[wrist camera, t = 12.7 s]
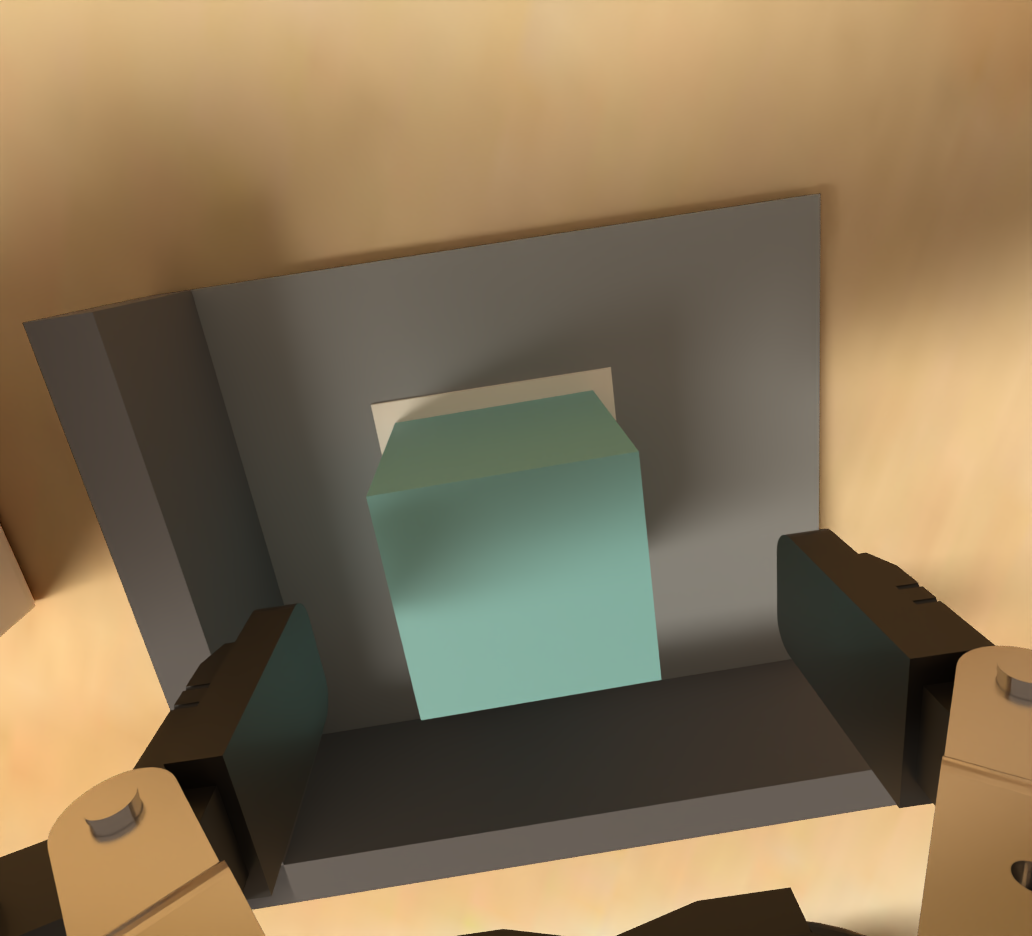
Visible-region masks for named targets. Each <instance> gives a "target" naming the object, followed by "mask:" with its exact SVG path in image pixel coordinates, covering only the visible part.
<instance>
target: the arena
mask: <svg viewBox="0 0 1032 936" xmlns="http://www.w3.org/2000/svg"><path fill="white" fill-rule="evenodd" d="M23 325H24V328H25V330H26V333H27V336H28V338H29V341H30V344H31V346H32V349H33V351H34V354H35V357H36V359H37V362H38V365H39V367H40V370H41V372H42V375H43V378H44V380H45V383H46V386H47V388H48V391H49V393H50V396H51V399H52V401H53V404H54V406H55V409H56V412H57V414H58V417H59V420H60V422H61V425H62V427H63V430H64V433H65V435H66V438H67V441H68V443H69V446H70V448H71V451H72V454H73V456H74V459H75V462H76V464H77V467H78V469H79V472H80V475H81V477H82V480H83V483H84V485H85V488H86V490H87V493H88V496H89V498H90V501H91V503H92V506H93V509H94V511H95V514H96V517H97V519H98V522H99V524H100V527H101V530H102V532H103V535H104V538H105V540H106V543H107V545H108V548H109V551H110V553H111V556H112V559H113V561H114V564H115V566H116V569H117V572H118V574H119V577H120V580H121V582H122V585H123V587H124V590H125V593H126V595H127V598H128V601H129V603H130V606H131V608H132V611H133V614H134V616H135V619H136V621H137V624H138V627H139V629H140V632H141V635H142V637H143V640H144V642H145V645H146V648H147V650H148V653H149V656H150V658H151V661H152V663H153V666H154V669H155V671H156V674H157V677H158V679H159V682H160V684H161V687H162V690H163V692H164V695H165V698H166V700H167V703H168V705H169V708H170V711H171V710H174V704H175V703H176V701H177V700H178V698H179V696H180V695H181V693H182V692H183V691H186V685H187V684H188V682H189V681H190V679H191V678H192V676H193V674H194V673H195V671H196V670H197V668H198V667H199V665H200V664H201V663H202V662H203V661H205V660H206V659H207V658H208V657H209V656H210V655H212V654H213V653H214V652H215V651H216V650H218V649H219V648H220V647H221V646H222V645H223V644H225V643H232V642H235V641H236V639H237V637H238V636H239V634H240V632H241V631H242V629H243V627H244V626H245V624H246V622H247V620H248V619H249V617H250V615H251V614H252V612H253V611H254V610H256V609H262V608H269V607H275V606H282V605H289V604H296V603H301V604H303V606H304V607H305V608H306V610H307V613H308V616H309V619H310V623H311V626H312V630H313V634H314V637H315V641H316V645H317V649H318V652H319V656H320V660H321V663H322V667H323V671H324V674H325V678H326V682H327V689H328V713H327V718H326V722H325V725H324V729H323V732H322V735H321V738H320V742H319V745H318V748H317V751H316V754H315V758H314V761H313V764H312V767H311V771H310V774H309V777H308V780H307V784H306V787H305V790H304V793H303V796H302V800H301V803H300V806H299V809H298V813H297V816H296V819H295V822H294V826H293V829H292V832H291V835H290V838H289V842H288V845H287V848H286V851H285V855H284V858H283V861H282V864H281V868H280V871H279V874H278V877H277V880H276V884H275V887H274V890H273V893H272V896H270V897H263V898H256V899H249V900H247V902H248V904H249V906H250V908H251V910H252V909H259V908H265V907H271V906H277V905H283V904H289V903H295V902H302V901H308V900H314V899H320V898H326V897H332V896H338V895H345V894H351V893H357V892H363V891H369V890H375V889H381V888H388V887H394V886H400V885H406V884H412V883H418V882H424V881H431V880H437V879H443V878H449V877H455V876H461V875H467V874H474V873H480V872H486V871H492V870H498V869H504V868H510V867H517V866H523V865H529V864H535V863H541V862H547V861H553V860H560V859H566V858H572V857H578V856H584V855H590V854H597V853H603V852H609V851H615V850H621V849H627V848H633V847H640V846H646V845H652V844H658V843H664V842H670V841H676V840H683V839H689V838H695V837H701V836H707V835H713V834H719V833H726V832H732V831H738V830H744V829H750V828H756V827H762V826H769V825H775V824H781V823H787V822H793V821H799V820H805V819H812V818H818V817H824V816H830V815H836V814H842V813H848V812H855V811H861V810H867V809H873V808H879V807H885V806H892V805H897V804H896V803H895V801H894V800H893V799H892V797H891V796H890V795H889V793H888V792H887V790H886V789H885V788H884V786H883V785H882V783H881V782H880V781H879V779H878V778H877V777H876V775H875V774H874V772H873V771H872V770H871V768H870V767H869V765H868V764H867V763H866V761H865V760H864V758H863V757H862V756H861V754H860V753H859V752H858V750H857V749H856V747H855V746H854V745H853V743H852V742H851V740H850V739H849V738H848V736H847V735H846V734H845V732H844V731H843V729H842V728H841V727H840V725H839V724H838V722H837V721H836V720H835V718H834V717H833V716H832V714H831V713H830V711H829V710H828V709H827V707H826V706H825V704H824V703H823V702H822V700H821V699H820V697H819V696H818V695H817V693H816V692H815V691H814V689H813V688H812V686H811V685H810V684H809V682H808V681H807V679H806V678H805V677H804V675H803V674H802V673H801V671H800V670H799V668H798V667H797V666H796V664H795V663H794V661H793V660H792V659H791V657H790V656H789V654H788V653H787V651H786V649H785V647H784V645H783V642H782V639H781V636H780V632H779V627H778V621H777V543H778V540H779V538H780V537H781V536H782V535H786V534H793V533H800V532H807V531H814V530H819V401H820V194H812V195H804V196H798V197H791V198H785V199H778V200H772V201H765V202H759V203H752V204H746V205H739V206H732V207H726V208H719V209H713V210H706V211H700V212H693V213H687V214H680V215H674V216H667V217H661V218H654V219H648V220H641V221H635V222H628V223H622V224H615V225H609V226H602V227H596V228H589V229H583V230H576V231H570V232H563V233H557V234H550V235H544V236H537V237H531V238H524V239H518V240H511V241H505V242H498V243H492V244H485V245H478V246H472V247H465V248H459V249H452V250H446V251H439V252H433V253H426V254H420V255H413V256H407V257H400V258H394V259H387V260H381V261H374V262H368V263H361V264H355V265H348V266H342V267H335V268H329V269H322V270H316V271H309V272H303V273H296V274H290V275H283V276H277V277H270V278H264V279H257V280H251V281H244V282H238V283H231V284H225V285H218V286H211V287H205V288H198V289H192V290H185V291H179V292H172V293H166V294H159V295H153V296H148V297H143V298H138V299H133V300H129V301H124V302H119V303H114V304H109V305H105V306H100V307H95V308H90V309H86V310H81V311H76V312H71V313H67V314H62V315H57V316H52V317H47V318H43V319H38V320H33V321H28V322H24V323H23ZM591 390H593V391H594V392H595V394H596V395H597V396H598V398H599V399H600V400H601V402H602V403H603V404H604V406H605V407H606V408H607V410H608V411H609V412H610V414H611V415H612V416H613V418H614V419H615V420H616V422H617V423H618V424H619V426H620V427H621V428H622V430H623V431H624V432H625V434H626V435H627V436H628V438H629V439H630V440H631V442H632V443H633V444H634V446H635V447H636V448H637V450H638V451H639V458H640V469H641V479H642V489H643V499H644V509H645V519H646V529H647V539H648V549H649V559H650V569H651V580H652V590H653V600H654V610H655V620H656V630H657V640H658V650H659V660H660V670H661V680H657V681H651V682H645V683H639V684H634V685H628V686H622V687H616V688H610V689H604V690H598V691H592V692H586V693H580V694H574V695H568V696H562V697H556V698H551V699H545V700H539V701H533V702H527V703H521V704H515V705H509V706H503V707H497V708H491V709H485V710H479V711H474V712H468V713H462V714H456V715H450V716H444V717H438V718H432V719H426V720H421V718H420V714H419V710H418V706H417V702H416V698H415V694H414V690H413V686H412V682H411V677H410V673H409V669H408V665H407V661H406V657H405V653H404V649H403V645H402V641H401V637H400V633H399V629H398V625H397V621H396V616H395V612H394V608H393V604H392V600H391V596H390V592H389V588H388V584H387V580H386V576H385V572H384V568H383V564H382V560H381V555H380V551H379V547H378V543H377V539H376V535H375V531H374V527H373V523H372V519H371V515H370V511H369V507H368V503H367V499H366V496H367V493H368V491H369V488H370V485H371V483H372V480H373V478H374V475H375V473H376V470H377V468H378V465H379V463H380V460H381V457H382V455H383V452H384V450H385V447H386V445H387V442H388V440H389V437H390V435H391V432H392V430H393V427H394V424H395V423H398V422H404V421H410V420H416V419H422V418H428V417H434V416H440V415H446V414H452V413H458V412H464V411H470V410H476V409H482V408H488V407H494V406H500V405H506V404H513V403H519V402H525V401H531V400H537V399H543V398H549V397H555V396H561V395H567V394H573V393H579V392H585V391H591Z"/></svg>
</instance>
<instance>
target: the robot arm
mask: <svg viewBox="0 0 1032 936" xmlns="http://www.w3.org/2000/svg"><path fill="white" fill-rule="evenodd" d="M777 621H778V627H779V632H780V636H781V639H782V642H783V645H784V647H785V649H786V651H787V653H788V654H789V656H790V657H791V659H792V660H793V661H794V663H795V664H796V666H797V667H798V668H799V670H800V671H801V673H802V674H803V675H804V677H805V678H806V679H807V681H808V682H809V684H810V685H811V686H812V688H813V689H814V691H815V692H816V693H817V695H818V696H819V697H820V699H821V700H822V702H823V703H824V704H825V706H826V707H827V709H828V710H829V711H830V713H831V714H832V716H833V717H834V718H835V720H836V721H837V722H838V724H839V725H840V727H841V728H842V729H843V731H844V732H845V734H846V735H847V736H848V738H849V739H850V740H851V742H852V743H853V745H854V746H855V747H856V749H857V750H858V752H859V753H860V754H861V756H862V757H863V758H864V760H865V761H866V763H867V764H868V765H869V767H870V768H871V770H872V771H873V772H874V774H875V775H876V777H877V778H878V779H879V781H880V782H881V783H882V785H883V786H884V788H885V789H886V790H887V792H888V793H889V795H890V796H891V797H892V799H893V800H894V801H895V803H896V804H897V806H898V807H899V808H903V807H910V806H917V805H924V804H931V803H934V805H935V813H934V820H933V827H932V834H931V842H930V849H929V856H928V863H927V870H926V877H925V885H924V892H923V899H922V906H921V913H920V920H919V928H918V935H917V936H1032V650H1030V649H1026V648H1020V647H1013V646H995V645H994V644H993V643H991V642H990V641H989V640H988V639H986V638H985V637H984V636H983V635H982V634H980V633H979V632H978V631H977V630H975V629H974V628H973V627H972V626H971V625H969V624H968V623H967V622H966V621H964V620H963V619H962V618H961V617H959V616H958V615H957V614H956V613H955V612H953V611H952V610H951V609H950V608H948V607H947V606H946V605H945V604H943V603H942V602H941V601H938V602H937V600H936V597H935V596H934V595H932V594H931V593H930V592H929V591H928V590H926V589H925V588H924V587H923V586H922V587H919V585H918V582H916V581H915V580H914V579H913V578H912V577H910V576H909V575H908V574H907V573H905V572H904V571H903V570H902V569H900V568H899V567H898V566H897V565H894V564H892V563H889V562H887V561H885V560H882V559H880V558H878V557H875V556H873V555H871V554H868V553H861V554H858V553H857V552H855V551H854V550H853V549H852V548H851V547H850V546H848V545H847V544H846V543H845V542H844V541H843V540H841V539H840V538H839V537H838V536H837V535H836V534H835V533H833V532H832V531H831V530H829V529H821V530H814V531H807V532H800V533H793V534H786V535H782V536H781V537H780V538H779V540H778V543H777ZM327 713H328V689H327V682H326V678H325V674H324V671H323V667H322V663H321V660H320V656H319V652H318V649H317V645H316V641H315V637H314V634H313V630H312V626H311V623H310V619H309V616H308V613H307V610H306V608H305V607H304V606H303V604H301V603H296V604H289V605H282V606H275V607H269V608H262V609H256V610H254V611H253V612H252V614H251V615H250V617H249V619H248V620H247V622H246V624H245V626H244V627H243V629H242V631H241V632H240V634H239V636H238V637H237V639H236V641H235V642H232V643H225V644H223V645H222V646H221V647H220V648H219V649H218V650H216V651H215V652H214V653H213V654H212V655H210V656H209V657H208V658H207V659H206V660H205V661H203V662H202V663H201V664H200V665H199V667H198V668H197V670H196V671H195V673H194V674H193V676H192V678H191V679H190V681H189V682H188V684H187V685H186V691H183V692H182V693H181V695H180V696H179V698H178V700H177V701H176V703H175V704H174V710H171V711H170V712H169V714H168V715H167V717H166V718H165V720H164V722H163V723H162V725H161V726H160V728H159V729H158V731H157V733H156V734H155V736H154V737H153V739H152V740H151V742H150V744H149V745H148V747H147V748H146V750H145V751H144V753H143V755H142V756H141V758H140V759H139V761H138V762H137V764H136V766H135V767H134V769H133V770H131V771H127V772H124V773H121V774H118V775H116V776H113V777H111V778H109V779H107V780H105V781H103V782H101V783H99V784H98V785H96V786H94V787H93V788H91V789H90V790H88V791H87V792H85V793H84V794H82V795H81V796H80V797H79V798H77V799H76V800H75V801H74V802H73V803H72V804H71V805H70V806H68V807H67V808H66V809H65V811H64V812H63V813H62V814H61V815H60V816H59V818H58V819H57V820H56V822H55V823H54V825H53V827H52V829H51V831H50V833H49V837H48V840H46V841H43V842H40V843H38V844H35V845H32V846H30V847H27V848H24V849H22V850H19V851H16V852H14V853H11V854H8V855H6V856H3V857H0V936H265V934H264V932H263V930H262V928H261V926H260V925H259V923H258V921H257V919H256V917H255V915H254V913H253V911H252V910H251V908H250V906H249V904H248V902H247V900H249V899H256V898H263V897H270V896H272V893H273V890H274V887H275V884H276V880H277V877H278V874H279V871H280V868H281V864H282V861H283V858H284V855H285V851H286V848H287V845H288V842H289V838H290V835H291V832H292V829H293V826H294V822H295V819H296V816H297V813H298V809H299V806H300V803H301V800H302V796H303V793H304V790H305V787H306V784H307V780H308V777H309V774H310V771H311V767H312V764H313V761H314V758H315V754H316V751H317V748H318V745H319V742H320V738H321V735H322V732H323V729H324V725H325V722H326V718H327ZM459 936H559V935H550V934H541V933H533V932H524V931H515V930H507V929H501V930H494V931H487V932H480V933H473V934H466V935H459ZM617 936H865V935H862V934H859V933H856V932H853V931H850V930H847V929H844V928H839V927H835V926H831V925H826V924H822V923H815V922H808V921H806V920H805V918H804V915H803V913H802V911H801V909H800V907H799V905H798V903H797V901H796V898H795V896H794V894H793V892H792V890H791V888H784V889H777V890H770V891H763V892H756V893H749V894H742V895H735V896H728V897H722V898H715V899H708V900H701V901H696V902H694V903H691V904H689V905H687V906H684V907H682V908H680V909H677V910H675V911H673V912H670V913H668V914H666V915H663V916H661V917H659V918H656V919H654V920H652V921H649V922H647V923H645V924H643V925H640V926H638V927H636V928H633V929H631V930H629V931H626V932H624V933H622V934H619V935H617Z"/></svg>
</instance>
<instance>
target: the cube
mask: <svg viewBox="0 0 1032 936" xmlns="http://www.w3.org/2000/svg"><path fill="white" fill-rule="evenodd" d="M366 499H367V503H368V507H369V511H370V515H371V519H372V523H373V527H374V531H375V535H376V539H377V543H378V547H379V551H380V555H381V560H382V564H383V568H384V572H385V576H386V580H387V584H388V588H389V592H390V596H391V600H392V604H393V608H394V612H395V616H396V621H397V625H398V629H399V633H400V637H401V641H402V645H403V649H404V653H405V657H406V661H407V665H408V669H409V673H410V677H411V682H412V686H413V690H414V694H415V698H416V702H417V706H418V710H419V714H420V718H421V720H426V719H432V718H438V717H444V716H450V715H456V714H462V713H468V712H474V711H479V710H485V709H491V708H497V707H503V706H509V705H515V704H521V703H527V702H533V701H539V700H545V699H551V698H556V697H562V696H568V695H574V694H580V693H586V692H592V691H598V690H604V689H610V688H616V687H622V686H628V685H634V684H639V683H645V682H651V681H657V680H661V670H660V660H659V650H658V640H657V630H656V620H655V610H654V600H653V590H652V580H651V569H650V559H649V549H648V539H647V529H646V519H645V509H644V499H643V489H642V479H641V469H640V458H639V451H638V450H637V448H636V447H635V446H634V444H633V443H632V442H631V440H630V439H629V438H628V436H627V435H626V434H625V432H624V431H623V430H622V428H621V427H620V426H619V424H618V423H617V422H616V420H615V419H614V418H613V416H612V415H611V414H610V412H609V411H608V410H607V408H606V407H605V406H604V404H603V403H602V402H601V400H600V399H599V398H598V396H597V395H596V394H595V392H594V391H593V390H591V391H585V392H579V393H573V394H567V395H561V396H555V397H549V398H543V399H537V400H531V401H525V402H519V403H513V404H506V405H500V406H494V407H488V408H482V409H476V410H470V411H464V412H458V413H452V414H446V415H440V416H434V417H428V418H422V419H416V420H410V421H404V422H398V423H395V424H394V427H393V430H392V432H391V435H390V437H389V440H388V442H387V445H386V447H385V450H384V452H383V455H382V457H381V460H380V463H379V465H378V468H377V470H376V473H375V475H374V478H373V480H372V483H371V485H370V488H369V491H368V493H367V496H366Z"/></svg>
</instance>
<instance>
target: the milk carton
mask: <svg viewBox="0 0 1032 936" xmlns="http://www.w3.org/2000/svg"><path fill="white" fill-rule="evenodd" d="M34 606H35V601H34V599H33V597H32V594H31V592H30V590H29V588H28V585H27V583H26V581H25V579H24V576H23V574H22V572H21V570H20V567H19V565H18V563H17V561H16V558H15V556H14V554H13V552H12V549H11V547H10V545H9V543H8V540H7V538H6V536H5V534H4V531H3V529H2V527H1V525H0V637H1V636H2V635H3V634H4V633H5V632H6V631H7V630H9V629H10V628H11V627H12V626H13V625H14V624H16V623H17V622H18V621H19V620H20V619H21V618H22V617H24V616H25V615H26V614H27V613H28V612H29V611H30V610H31V609H32V608H34Z"/></svg>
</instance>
